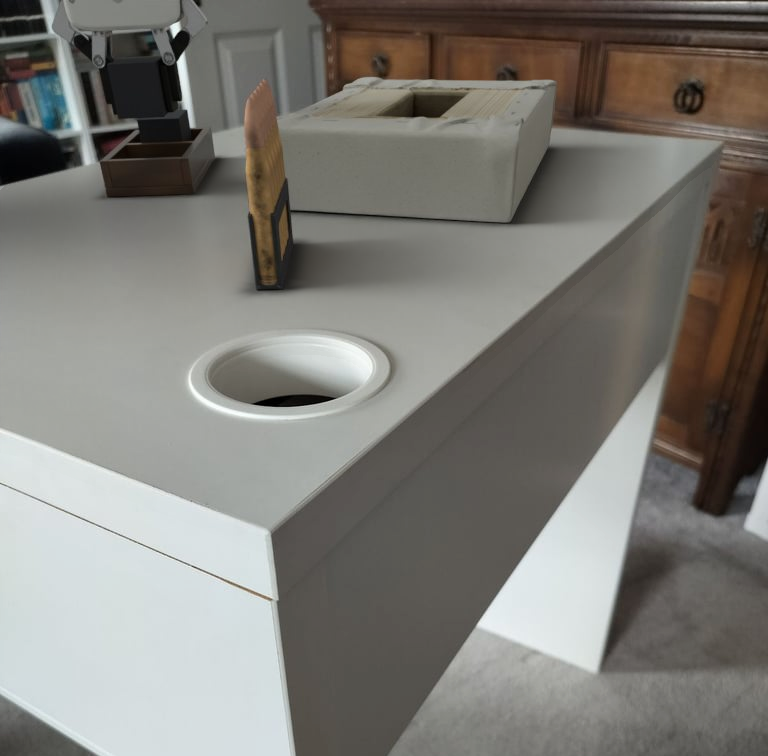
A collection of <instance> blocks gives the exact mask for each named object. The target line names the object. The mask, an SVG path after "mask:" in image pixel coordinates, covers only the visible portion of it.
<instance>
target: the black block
mask: <svg viewBox="0 0 768 756" xmlns="http://www.w3.org/2000/svg"><path fill="white" fill-rule="evenodd" d="M160 58H161V55H146V56H145V55H143V56H122V57H118V58H117V59H114V61H113V62H111V63H109V64H107V67H108V71H109V76H110V81H111V86H112V91H113V95H114V100H115V105H116V110H117V114H118V115H117V118H118V119H119V120H126V119H127V120H128V119H129V120H130V119H139V118H154V117H165V116H166V115H167V114H168V111H166V108H165V102H164V96H163V91H162V85H161V79H160V73H159V67H160V66H161V61H160Z"/></svg>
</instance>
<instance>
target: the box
mask: <svg viewBox="0 0 768 756" xmlns="http://www.w3.org/2000/svg"><path fill="white" fill-rule="evenodd" d="M557 88H558V82H557V81H556V80H553V79H531V80H473V79H472V80H461V79H460V80H459V79H458V80H457V79H455V80H453V79H434V78H433V79H432V78H430V79H418V78H417V79H416V78H415V79H383V78H381V77H378V76H365V77H360V78H357V79H356V80H354V81H352V82H350V83H346V84H344V85H343V87H342V90H341V91H338V92H337V93H334V94H332V95H330V96H328V97H326V98H324V99H322V100H320V101H317V102H315V103H313V104H311V105H309V106H307V107H305V108H304V107H303V108H302V109H300V110H298V111H295V112H294V113H291V114H282V115H279V116H276V117H277V122H278V130H279V135H280V139H281V143H282V149H283V160H284V170H285V178H287V179H288V190H289V201H290V211H301V212H302V211H305V212H320V213H336V214H351V215H352V214H353V215H369V216H373V215H374V216H385V217H403V218H404V217H405V218H421V219H437V220H456V221H466V222H467V221H468V222H469V221H470V222H487V223H488V222H490V223H511V221H512V219H513V218H514V215H515V213H516V212H517V210H518V207H519V205H520V203H521V201H522V199H523V197H524V195H525V193H526V192H527V190H528V187H529V185H530V184H531V181H532V180H533V178H534V176H535V173H536V172H537V170H538V167H539V166H540V163H541V162H542V160H543V159H544V156H545V154H546V152H547V150H548V148H549V146H550V142H551V136H552V130H553V129H552V128H553V123H554V117H555V116H554V115H555V108H556V98H557Z"/></svg>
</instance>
